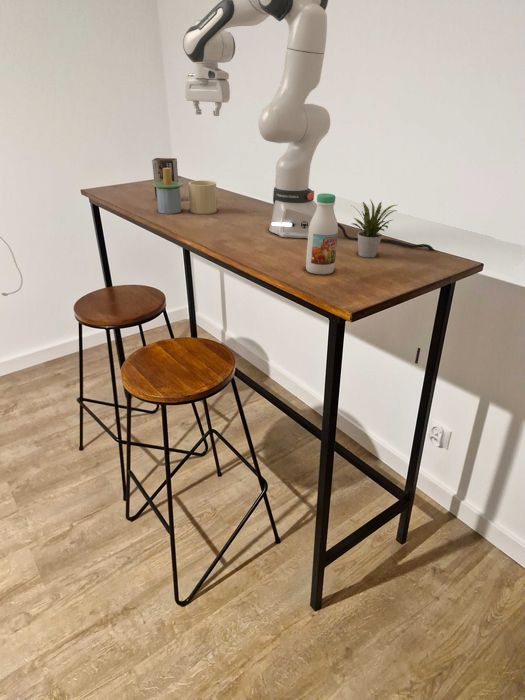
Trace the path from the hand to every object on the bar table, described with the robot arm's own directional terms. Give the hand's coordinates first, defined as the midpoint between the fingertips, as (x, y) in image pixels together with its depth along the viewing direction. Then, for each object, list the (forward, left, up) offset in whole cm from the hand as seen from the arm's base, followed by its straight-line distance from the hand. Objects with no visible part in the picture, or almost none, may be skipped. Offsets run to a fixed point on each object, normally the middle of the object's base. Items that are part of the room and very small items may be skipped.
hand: (207, 115), depth 181 cm
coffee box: (+20, -2, -33) cm, 39 cm away
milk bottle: (-56, +67, -33) cm, 93 cm away
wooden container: (-2, +13, -33) cm, 36 cm away
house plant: (-69, +49, -33) cm, 91 cm away
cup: (+10, +18, -33) cm, 39 cm away
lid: (+10, +18, -24) cm, 31 cm away
